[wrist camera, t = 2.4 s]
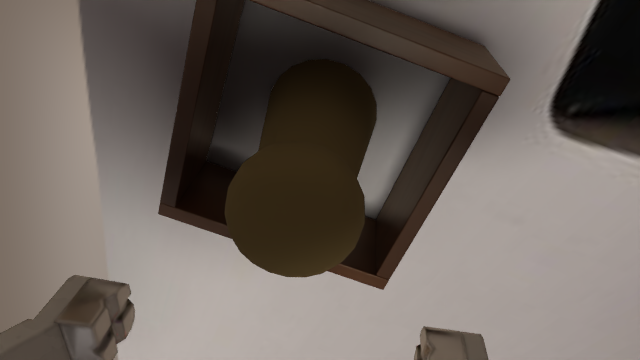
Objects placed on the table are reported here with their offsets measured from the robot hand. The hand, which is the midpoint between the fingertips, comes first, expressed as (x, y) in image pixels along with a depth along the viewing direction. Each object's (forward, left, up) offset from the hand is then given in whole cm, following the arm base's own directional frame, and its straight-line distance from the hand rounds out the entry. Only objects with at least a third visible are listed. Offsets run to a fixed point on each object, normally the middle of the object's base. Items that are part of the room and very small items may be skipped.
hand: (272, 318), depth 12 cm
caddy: (0, 0, -14) cm, 14 cm away
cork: (0, 0, -15) cm, 15 cm away
